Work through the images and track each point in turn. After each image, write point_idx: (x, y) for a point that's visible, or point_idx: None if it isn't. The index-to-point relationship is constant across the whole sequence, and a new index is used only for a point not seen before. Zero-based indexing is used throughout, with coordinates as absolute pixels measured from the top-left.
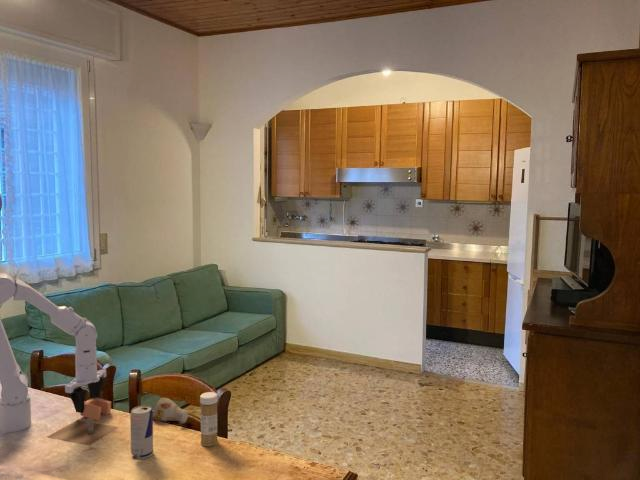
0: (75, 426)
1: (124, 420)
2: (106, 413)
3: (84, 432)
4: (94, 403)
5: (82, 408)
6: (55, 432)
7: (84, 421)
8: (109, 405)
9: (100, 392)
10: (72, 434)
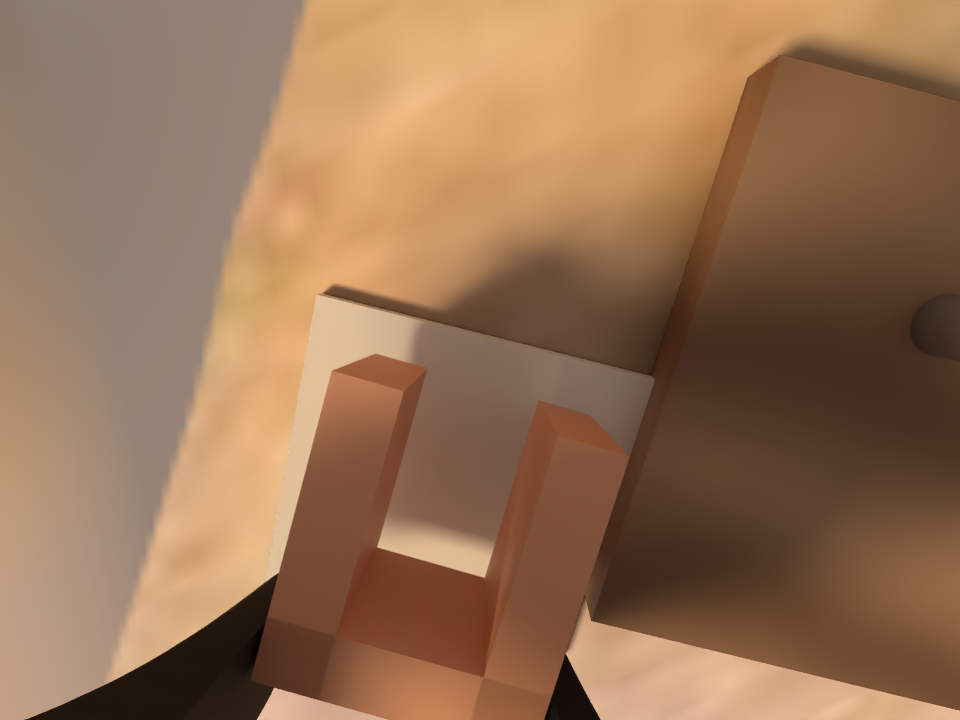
0: (751, 567)
1: (428, 153)
2: (420, 383)
3: (912, 406)
4: (363, 604)
5: (572, 676)
6: (891, 686)
7: (624, 534)
8: (379, 374)
9: (170, 664)
10: (955, 507)
